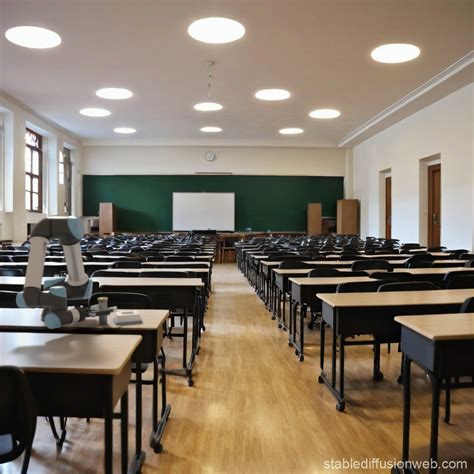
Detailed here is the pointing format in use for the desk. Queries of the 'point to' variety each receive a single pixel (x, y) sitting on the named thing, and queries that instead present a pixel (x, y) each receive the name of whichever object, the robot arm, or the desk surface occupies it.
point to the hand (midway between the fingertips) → (108, 307)
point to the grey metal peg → (102, 305)
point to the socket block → (127, 317)
